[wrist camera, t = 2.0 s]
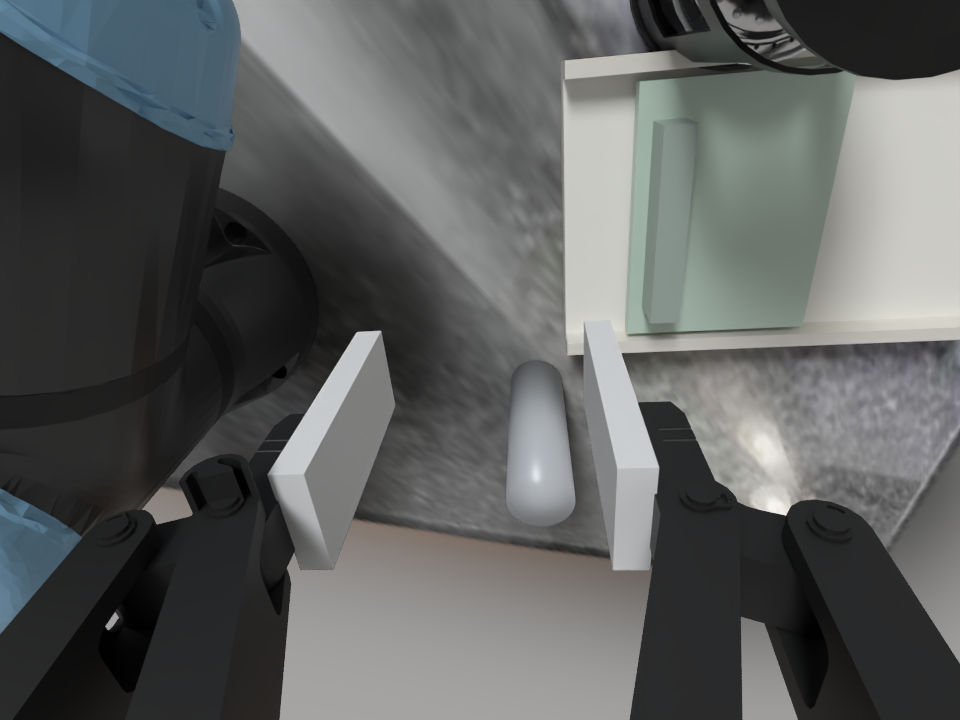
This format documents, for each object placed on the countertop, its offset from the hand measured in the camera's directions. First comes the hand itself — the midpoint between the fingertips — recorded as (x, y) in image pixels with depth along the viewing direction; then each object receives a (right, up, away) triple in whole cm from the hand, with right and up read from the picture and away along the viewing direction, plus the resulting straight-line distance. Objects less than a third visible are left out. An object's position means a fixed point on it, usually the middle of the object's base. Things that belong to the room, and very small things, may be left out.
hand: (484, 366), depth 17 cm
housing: (+17, +10, +15) cm, 24 cm away
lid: (+13, +8, +13) cm, 21 cm away
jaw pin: (+4, -1, +22) cm, 22 cm away
